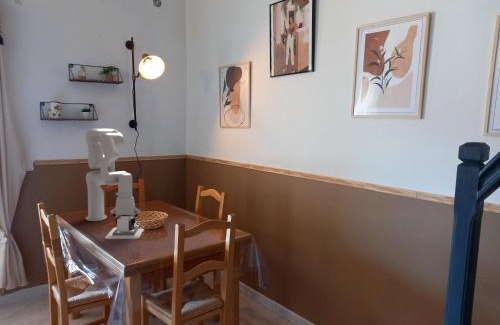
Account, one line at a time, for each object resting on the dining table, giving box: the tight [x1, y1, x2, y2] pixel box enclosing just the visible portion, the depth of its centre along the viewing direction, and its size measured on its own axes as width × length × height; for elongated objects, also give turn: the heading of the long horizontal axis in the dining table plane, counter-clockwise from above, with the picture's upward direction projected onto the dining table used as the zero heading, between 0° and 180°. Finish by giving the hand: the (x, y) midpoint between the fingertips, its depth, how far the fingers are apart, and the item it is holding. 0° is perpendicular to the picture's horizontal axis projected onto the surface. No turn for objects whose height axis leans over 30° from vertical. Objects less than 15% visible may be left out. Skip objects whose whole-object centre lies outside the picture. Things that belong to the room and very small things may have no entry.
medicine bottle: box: [116, 215, 135, 232], centre depth 197 cm, size 7×7×12 cm
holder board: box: [104, 226, 145, 240], centre depth 197 cm, size 18×18×2 cm
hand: (125, 224), depth 197 cm, fingers closed on medicine bottle, 8 cm apart
